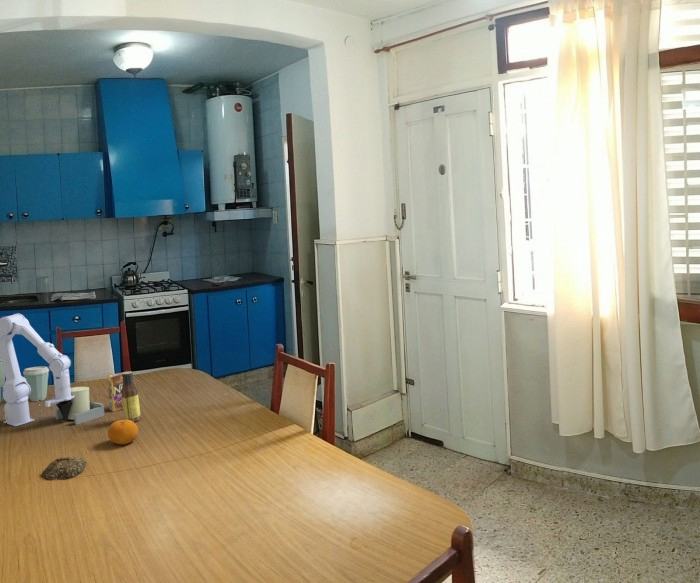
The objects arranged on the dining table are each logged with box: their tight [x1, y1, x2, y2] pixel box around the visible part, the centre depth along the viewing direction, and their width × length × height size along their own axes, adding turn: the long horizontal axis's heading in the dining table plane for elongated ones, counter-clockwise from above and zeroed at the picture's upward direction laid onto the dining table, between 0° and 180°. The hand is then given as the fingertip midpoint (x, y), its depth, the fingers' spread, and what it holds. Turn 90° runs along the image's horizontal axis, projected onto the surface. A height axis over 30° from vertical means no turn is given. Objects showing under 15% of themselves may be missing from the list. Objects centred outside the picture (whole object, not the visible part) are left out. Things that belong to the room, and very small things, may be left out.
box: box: [54, 400, 105, 426], centre depth 256 cm, size 14×13×5 cm
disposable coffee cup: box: [22, 366, 50, 402], centre depth 284 cm, size 11×11×15 cm
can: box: [67, 386, 91, 420], centre depth 256 cm, size 9×9×12 cm
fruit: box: [107, 418, 139, 445], centre depth 226 cm, size 10×10×8 cm
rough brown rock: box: [41, 455, 87, 480], centre depth 201 cm, size 13×12×5 cm
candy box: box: [107, 372, 123, 412], centre depth 266 cm, size 9×4×15 cm, turn 134°
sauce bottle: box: [121, 371, 141, 423], centre depth 249 cm, size 7×6×20 cm
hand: (65, 419), depth 251 cm, fingers closed
